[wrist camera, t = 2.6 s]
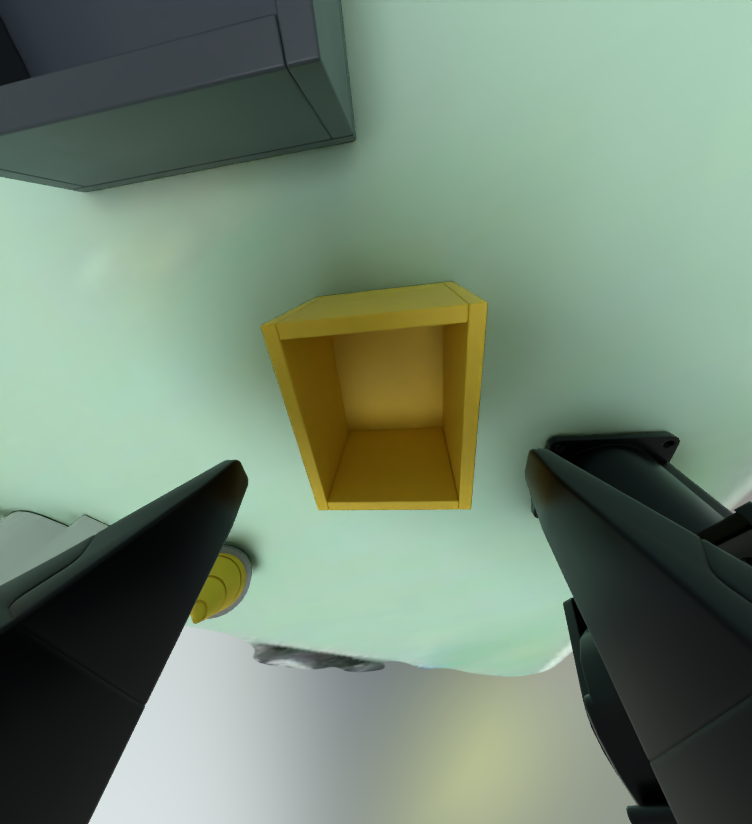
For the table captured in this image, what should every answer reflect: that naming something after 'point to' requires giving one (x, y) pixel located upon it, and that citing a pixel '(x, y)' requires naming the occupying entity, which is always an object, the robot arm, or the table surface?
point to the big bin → (166, 86)
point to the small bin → (384, 394)
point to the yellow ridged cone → (223, 585)
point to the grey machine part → (37, 540)
